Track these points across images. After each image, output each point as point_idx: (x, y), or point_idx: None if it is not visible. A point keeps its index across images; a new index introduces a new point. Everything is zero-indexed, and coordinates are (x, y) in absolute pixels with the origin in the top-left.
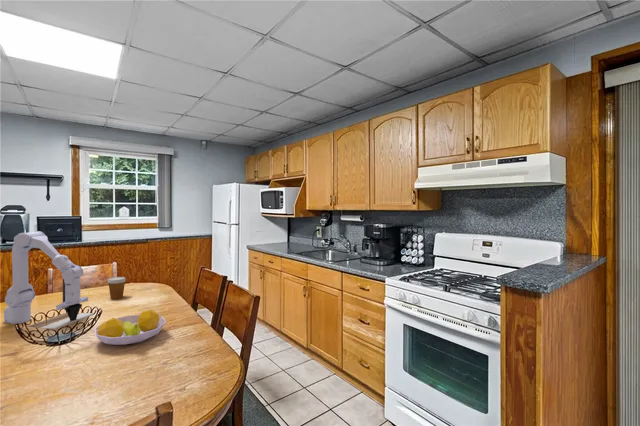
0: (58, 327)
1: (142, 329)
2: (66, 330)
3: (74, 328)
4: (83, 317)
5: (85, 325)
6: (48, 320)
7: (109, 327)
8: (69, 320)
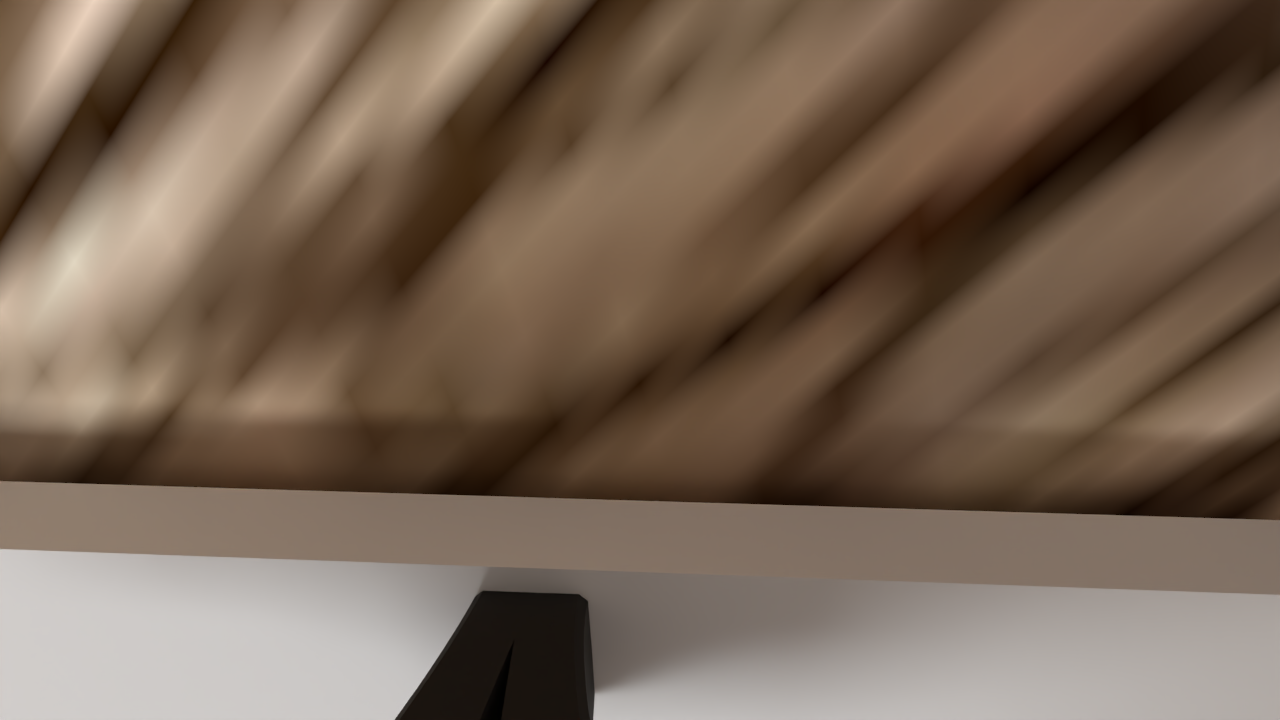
0: (1246, 568)
1: None
2: (1166, 273)
3: (945, 159)
4: (202, 546)
5: (563, 4)
6: None
7: None
8: None
